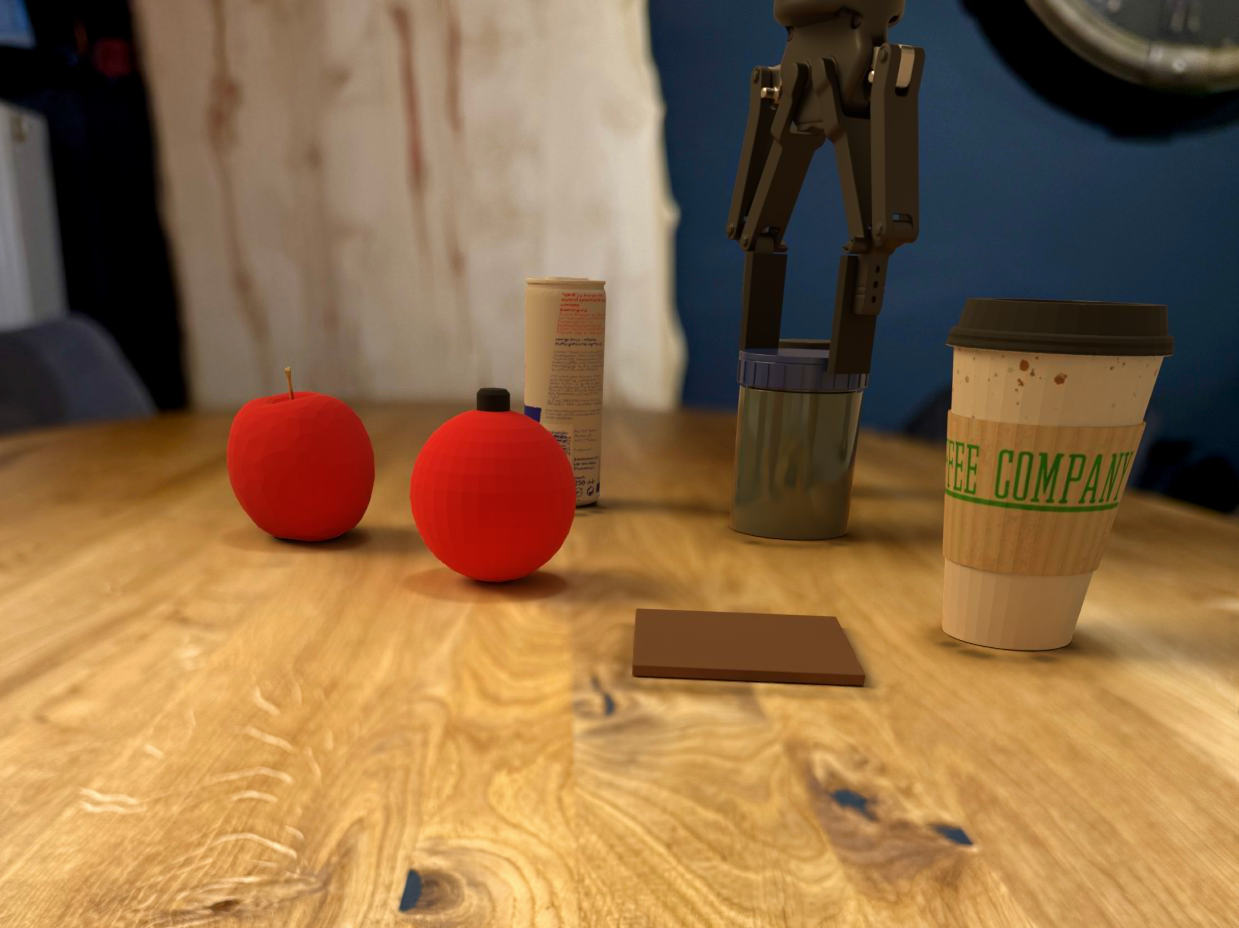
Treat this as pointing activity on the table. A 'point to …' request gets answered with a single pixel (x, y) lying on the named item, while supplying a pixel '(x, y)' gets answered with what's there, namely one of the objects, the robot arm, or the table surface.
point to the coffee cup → (1039, 458)
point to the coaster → (743, 647)
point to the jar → (794, 462)
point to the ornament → (493, 492)
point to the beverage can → (567, 370)
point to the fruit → (301, 464)
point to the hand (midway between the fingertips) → (800, 366)
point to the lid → (794, 370)
